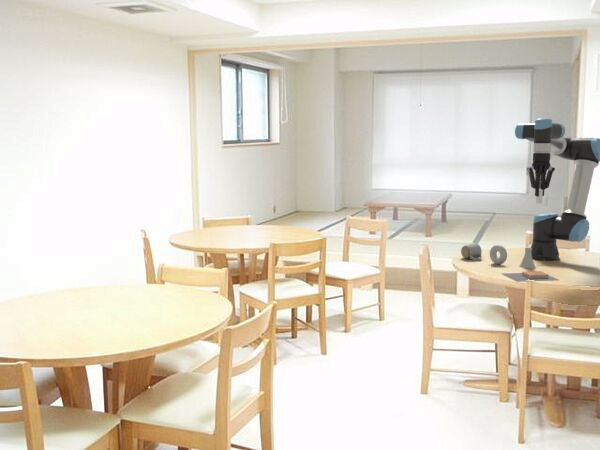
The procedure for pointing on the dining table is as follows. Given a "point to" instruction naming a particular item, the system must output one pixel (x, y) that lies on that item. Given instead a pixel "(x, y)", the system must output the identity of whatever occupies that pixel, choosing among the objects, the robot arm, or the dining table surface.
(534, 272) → the tile
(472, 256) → the ceramic mug
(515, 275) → the mat
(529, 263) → the flask
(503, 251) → the donut
